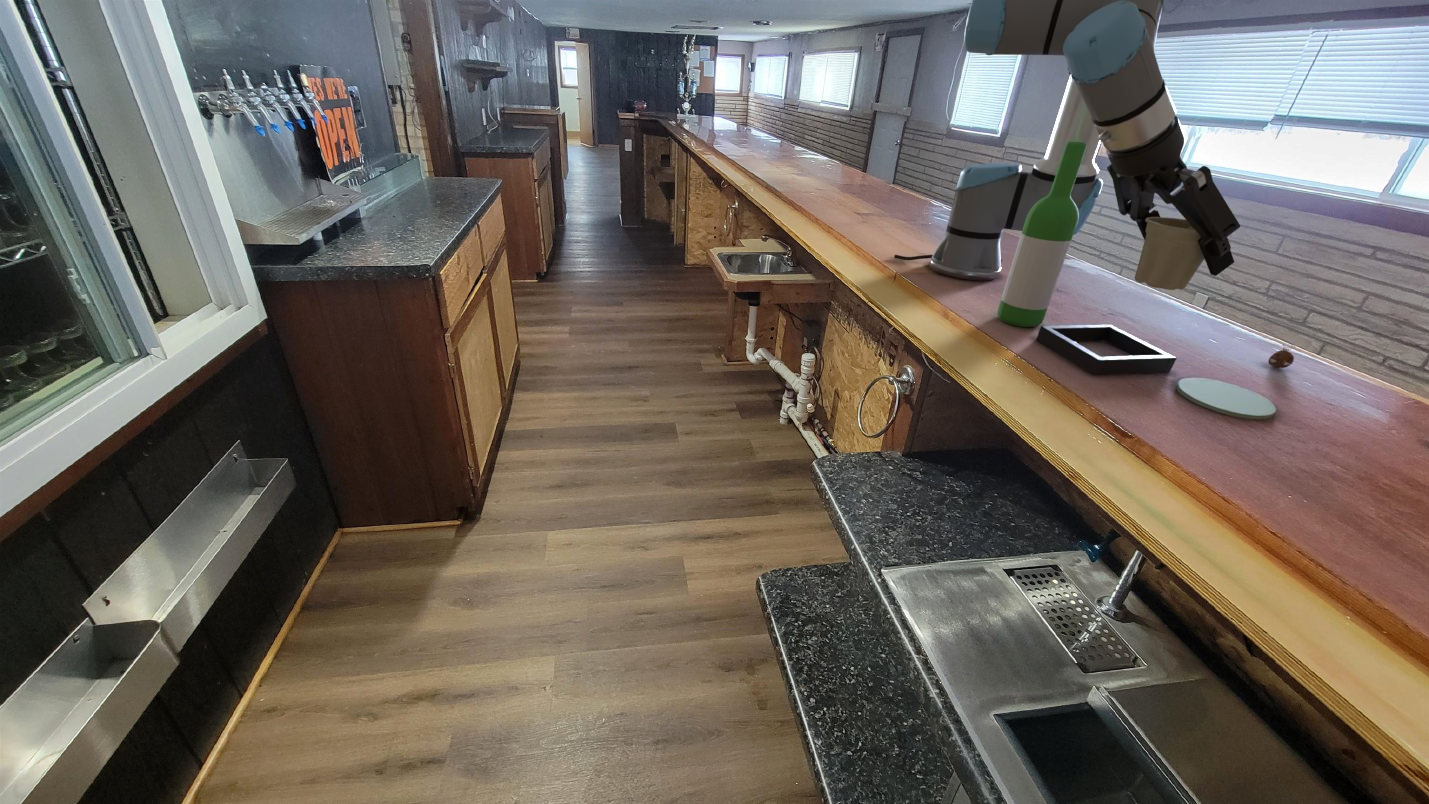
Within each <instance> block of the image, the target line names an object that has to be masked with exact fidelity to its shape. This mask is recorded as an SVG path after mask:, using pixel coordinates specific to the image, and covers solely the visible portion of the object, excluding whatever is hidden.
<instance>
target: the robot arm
mask: <svg viewBox="0 0 1429 804" xmlns="http://www.w3.org/2000/svg"><path fill="white" fill-rule="evenodd" d="M1164 2H1165V0H971V3H970V6H969V10H968V14H967V18H966V22H965V23H966V24H965V27H964V28H965V29H964V35H963V46H964V49H965V51H966V52H968V53H970V54H982V55H983V54H985V55H986V56H993V55H998V56H1000V55H1001V56H1002V55H1004V56H1005V55H1008V56H1009V55H1010V56H1011V55H1012V56H1013V55H1014V56H1063V57H1064V60H1065V62H1066V66H1067V72H1068V74H1069V78H1068V81H1067V84H1066V87H1065V91H1064V94H1063V97H1062V100H1061V104H1060V107H1059V109H1058V113H1057V116H1056V119H1055V122H1054V126H1053V129H1052V133H1051V135H1050V139H1049V142H1048V145H1047V149H1046V152H1045V155H1044V156H1043V157H1042V158H1040V159H1039V160H1037V161H1035V162H1034V163H1033V168H1032V170H1031V172H1029V171H1022V170H1023V168H1022V164H1020V163H1017V162H1014V163H1013V162H992V163H980V164H978V163H977V164H972V165H968V166H966V167H964V168H963V169H962V170H961V171H960V173H959V177H958V181H957V184H956V186H955V188H954V191H955V193H954V197H953V200H952V205H951V210H950V213H949V216H948V221H947V226H946V229H945V232H944V235H943V237H942V239H941V240H940V242H939V244H938V245H937V247H936V248H935V250H934V252H933V254H922V255H914V256H904V255H899V254H894V256H893V258H894V259H898V260H901V261H902V260H903V261H916V260H925V259H930V261H929V264H928V265H929V268H930V269H931V270H932V271H934V272H936V273H938V274H940V275H943V276H947V277H951V278H955V279H961V280H968V281H991V280H995V279H997V278H999V276H1000V274H1001V270H1002V263H1003V258H1001V239H1002V235H1003V232H1004V230H1011V231H1017V232H1018V231H1019V232H1022V230H1023V227H1024V224H1025V220H1026V217H1027V215H1028V213H1029V211H1030V209H1031V208H1032V207H1033V206H1034V205H1035V204H1036V203H1037V202H1038V201H1039V200H1041V199H1042V198H1044V197H1046V196H1047V195H1048V194H1049V193H1050V191H1051V188H1052V185H1053V182H1054V179H1055V176H1056V173H1057V170H1058V167H1059V164H1060V161H1061V158H1062V155H1063V152H1064V149H1065V146H1066V143H1067V142H1081V143H1086V144H1087V146H1086V149H1085V152H1084V155H1083V158H1082V161H1081V164H1080V168H1079V171H1078V174H1077V177H1076V180H1075V183H1074V186H1073V189H1072V192H1071V199H1072V200H1073V201H1074V203H1075V204H1076V206H1077V209H1078V214H1079V216H1078V222H1077V225H1076V228H1075V231H1074V234H1073V236H1074V235H1076V234H1077V233H1079V231H1080V230H1082V228H1083V227H1084V225H1085V224H1086V222H1087V220H1088V218H1089V217H1090V215H1091V213H1092V211H1093V209H1094V208H1095V205H1096V203H1097V200H1098V198H1099V196H1100V194H1101V191H1102V188H1103V186H1104V185H1103V184H1104V182H1103V179H1101V178H1099V177H1098V175H1099V171H1100V169H1099V167H1098V165H1097V163H1095V158H1096V155H1097V153H1098V150H1099V147H1100V144H1101V143H1102V145H1103V147H1104V149H1106V151H1105V153H1106V156H1107V157H1108V160H1109V162H1110V164H1109V165H1108V166H1107V167H1106V170H1107V171H1108V174H1109V175H1110V178H1111V179H1112V183H1113V189H1114V194H1115V198H1116V203H1117V207H1118V212H1119V214H1120V215H1121V216H1127V215H1129V218H1130V219H1131V220H1132V221H1133V222H1136V225H1137V227H1138V229H1139V232H1140V233H1141V235H1142V238H1143V240H1144V241H1145V237H1146V231H1145V230H1146V227H1147V222H1146V221H1145V220H1146V218H1148V217H1161V215H1160V212H1159V210H1156V209H1154V208H1155V207H1156V206H1157V204H1155V203H1154V200H1155V194H1156V195H1158V196H1159V198H1160V199H1161V200H1162V201H1163V202H1164V204H1166V205H1173V207H1174V208H1175V209H1176V210H1177V211H1178V213H1180V215H1181V216H1182V217H1183V219H1186V220H1187V221H1188V222H1189V224H1190V225H1191V226H1192V227H1193V228H1194V229H1195V230H1196V232H1197V233H1198V234H1199V235H1200V236H1201V238H1200V239H1199V240H1198V244H1199V246H1200V248H1201V251H1202V253H1203V256H1204V261H1205V264H1206V267H1207V269H1208V271H1209V274H1210V275H1211V276H1214V277H1217V276H1218V275H1219V274H1220V273H1222V272H1223V271H1225V270H1226V269H1227V268H1229V267H1230V266H1231V265H1233V264H1234V263H1235V258H1234V256H1233V254H1232V251H1231V250H1232V247H1231V243H1230V241H1229V238H1228V237H1229V236H1230V235H1232V234H1233V233H1235V232H1236V231H1237V230H1239V229H1240V228H1241V224H1240V222H1239V221H1238V219H1237V217H1236V216H1235V214H1234V213H1233V211H1232V209H1231V208H1230V206H1229V205H1228V203H1227V202H1226V200H1225V198H1224V196H1223V195H1222V193H1221V192H1220V190H1219V189H1218V187H1217V185H1216V184H1215V182H1214V179H1213V176H1212V171H1211V168H1210V167H1208V166H1206V165H1202V166H1201V167H1199V168H1198V169H1197V170H1194V169H1191V168H1188V165H1187V163H1185V161H1184V160H1183V159H1182V157H1181V154H1182V151H1183V148H1184V146H1185V143H1186V136H1185V134H1184V131H1183V128H1182V125H1181V122H1180V119H1179V117H1178V116H1177V115H1176V114H1177V109H1176V107H1175V104H1174V102H1173V99H1172V96H1171V94H1170V91H1169V88H1168V86H1167V83H1166V82H1165V78H1163V74H1162V71H1161V68H1160V65H1159V62H1158V58H1157V55H1156V50H1155V47H1156V43H1157V36H1158V29H1159V25H1160V20H1161V18H1162V15H1163V12H1164V8H1165V6H1164V4H1165V3H1164ZM1181 185H1182V186H1181ZM1180 186H1181V187H1180ZM1174 191H1175V192H1174ZM1173 192H1174V193H1173ZM1171 193H1172V194H1171ZM1152 209H1153V210H1152ZM1151 210H1152V211H1151Z"/></svg>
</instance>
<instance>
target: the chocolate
mask: <svg viewBox="0 0 1429 804" xmlns="http://www.w3.org/2000/svg"><path fill="white" fill-rule="evenodd" d="M1281 346H1282V349H1281V350H1279V351H1276V352H1274V353H1273V354H1271V355H1270V356H1269V357H1268V362H1267V363H1268V365H1269V366H1271V367H1274V368H1279V369H1285V368H1288V367H1290V366H1291V365H1293V363H1294V361H1295V358H1294V357H1295V356H1294V354H1292V352H1290V350H1292V349H1293V348H1295V347H1296V346H1297V345H1296V344H1294V345H1293V344H1292V345H1291V344H1286V343H1284V344H1282V345H1281Z"/></svg>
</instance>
